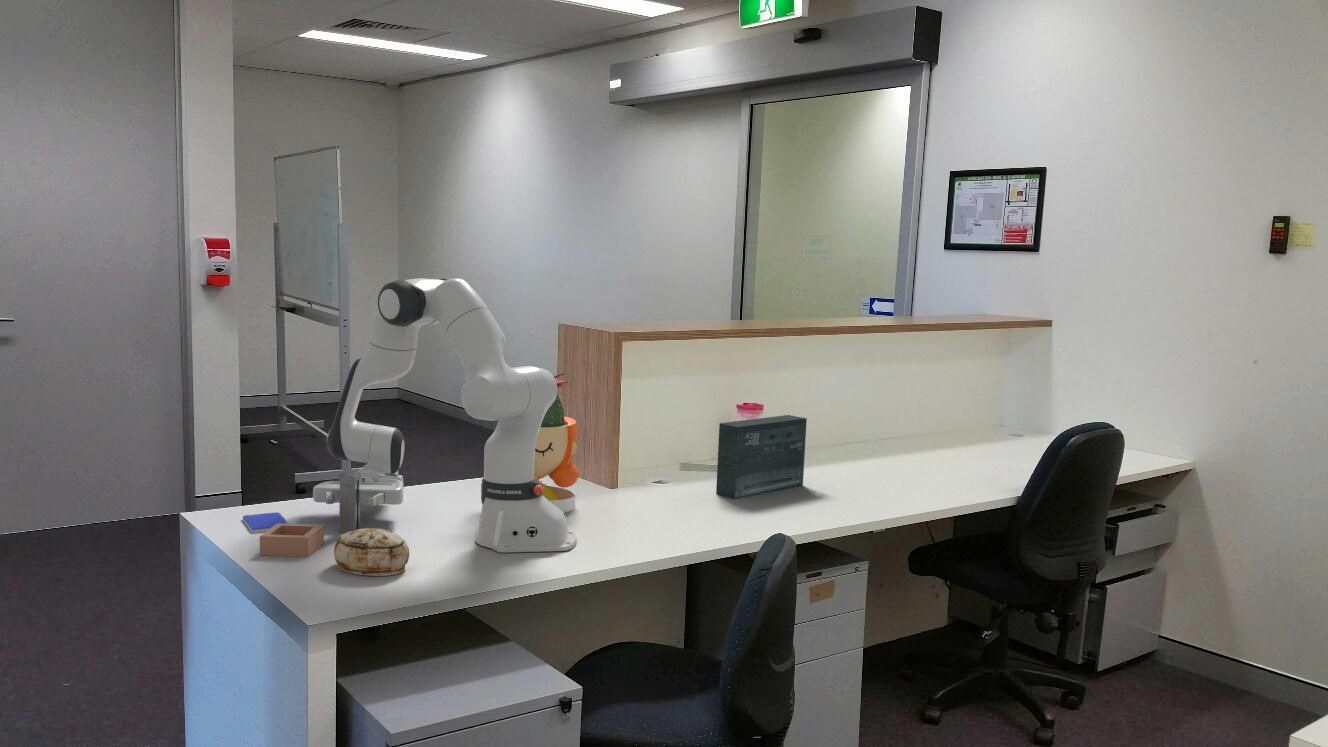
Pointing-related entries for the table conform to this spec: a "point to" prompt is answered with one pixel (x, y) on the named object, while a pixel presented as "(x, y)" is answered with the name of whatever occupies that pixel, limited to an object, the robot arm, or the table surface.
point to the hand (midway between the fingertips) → (349, 501)
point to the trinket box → (371, 552)
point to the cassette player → (760, 455)
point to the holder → (291, 540)
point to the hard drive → (263, 521)
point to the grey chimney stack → (349, 502)
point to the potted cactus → (557, 454)
